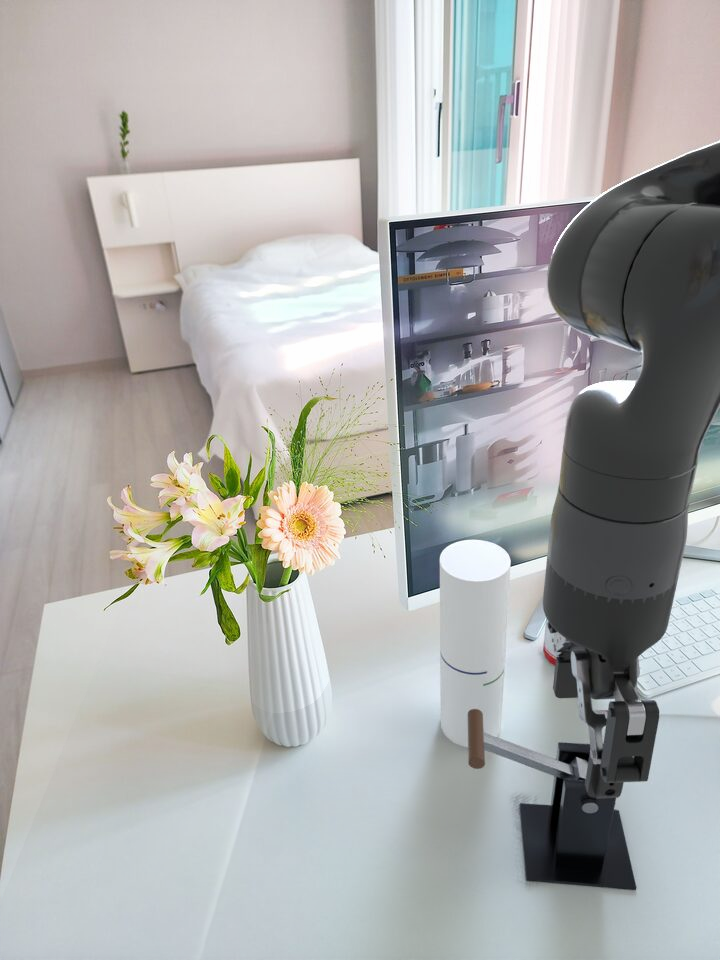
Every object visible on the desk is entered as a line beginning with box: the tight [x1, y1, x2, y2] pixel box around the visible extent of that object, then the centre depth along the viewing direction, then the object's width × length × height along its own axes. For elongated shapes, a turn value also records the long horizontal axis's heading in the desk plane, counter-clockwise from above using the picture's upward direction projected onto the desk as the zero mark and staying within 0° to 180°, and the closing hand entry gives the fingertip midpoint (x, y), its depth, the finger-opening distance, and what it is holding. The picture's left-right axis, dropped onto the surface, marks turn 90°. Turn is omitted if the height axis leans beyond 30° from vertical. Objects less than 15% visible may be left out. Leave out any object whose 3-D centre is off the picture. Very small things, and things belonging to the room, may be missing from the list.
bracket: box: [519, 741, 637, 891], centre depth 65 cm, size 10×8×13 cm
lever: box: [467, 709, 589, 780], centre depth 62 cm, size 13×6×2 cm, turn 83°
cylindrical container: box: [439, 539, 512, 748], centre depth 76 cm, size 7×7×25 cm
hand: (583, 739), depth 49 cm, fingers open, 8 cm apart
